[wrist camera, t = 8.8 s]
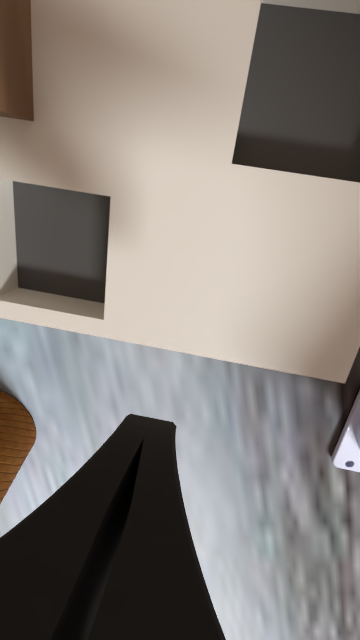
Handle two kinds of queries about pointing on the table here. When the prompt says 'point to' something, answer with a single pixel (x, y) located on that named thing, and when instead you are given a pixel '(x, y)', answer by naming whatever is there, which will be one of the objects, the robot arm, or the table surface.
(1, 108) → the walnut block
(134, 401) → the table surface
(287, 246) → the trap board
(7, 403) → the disposable coffee cup
